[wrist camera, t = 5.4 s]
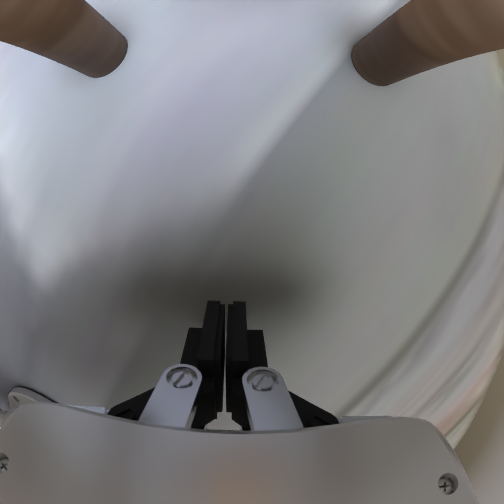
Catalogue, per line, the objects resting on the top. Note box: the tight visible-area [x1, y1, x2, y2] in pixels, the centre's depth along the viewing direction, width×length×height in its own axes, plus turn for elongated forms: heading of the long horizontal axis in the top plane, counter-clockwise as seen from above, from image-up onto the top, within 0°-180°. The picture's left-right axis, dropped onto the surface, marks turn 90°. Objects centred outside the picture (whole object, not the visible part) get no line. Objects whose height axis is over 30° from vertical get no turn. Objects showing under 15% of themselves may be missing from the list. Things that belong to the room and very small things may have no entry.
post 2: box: [352, 0, 504, 86], centre depth 5 cm, size 3×3×9 cm
